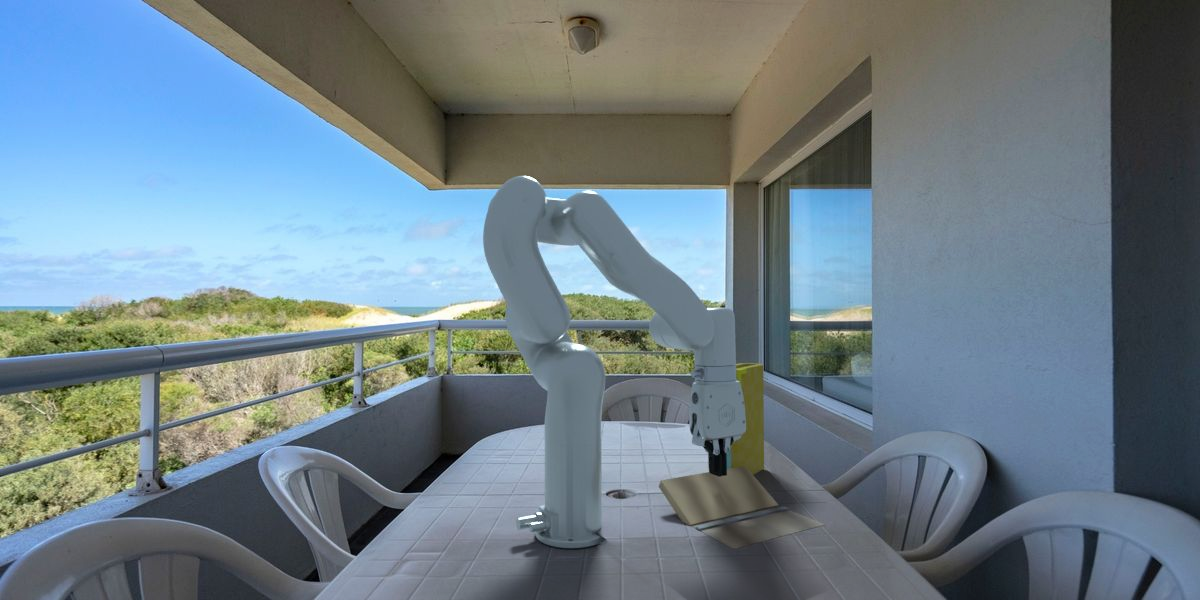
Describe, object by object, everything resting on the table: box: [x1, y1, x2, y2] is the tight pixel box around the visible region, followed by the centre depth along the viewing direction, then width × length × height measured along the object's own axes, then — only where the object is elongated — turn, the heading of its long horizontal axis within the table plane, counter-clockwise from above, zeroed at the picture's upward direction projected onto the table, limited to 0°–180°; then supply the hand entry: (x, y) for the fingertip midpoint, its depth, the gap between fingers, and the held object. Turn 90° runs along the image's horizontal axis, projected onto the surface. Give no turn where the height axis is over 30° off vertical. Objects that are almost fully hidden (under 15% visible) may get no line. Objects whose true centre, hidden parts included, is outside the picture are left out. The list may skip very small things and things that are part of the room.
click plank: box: [658, 466, 779, 527], centre depth 101 cm, size 20×10×2 cm, turn 118°
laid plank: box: [691, 505, 826, 550], centre depth 93 cm, size 20×10×2 cm, turn 118°
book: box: [727, 362, 765, 476], centre depth 124 cm, size 17×7×25 cm, turn 143°
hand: (717, 474), depth 103 cm, fingers closed
